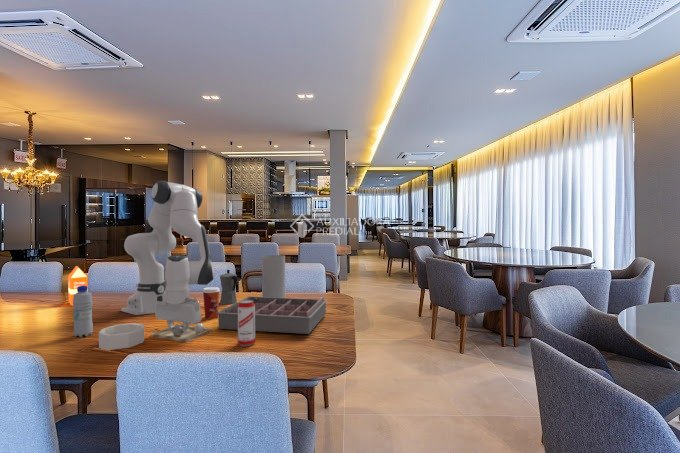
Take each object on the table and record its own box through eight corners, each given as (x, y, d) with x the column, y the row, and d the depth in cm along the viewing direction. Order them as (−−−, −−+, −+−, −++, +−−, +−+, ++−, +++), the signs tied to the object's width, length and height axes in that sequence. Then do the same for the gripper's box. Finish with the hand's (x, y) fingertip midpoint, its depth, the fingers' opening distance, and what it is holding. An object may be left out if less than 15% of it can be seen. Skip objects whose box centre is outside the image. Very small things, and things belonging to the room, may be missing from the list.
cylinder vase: (274, 304, 201) (274, 258, 200) (257, 301, 207) (257, 256, 207) (289, 300, 211) (289, 255, 210) (273, 297, 218) (273, 254, 217)
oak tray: (150, 337, 146) (150, 333, 146) (178, 327, 159) (178, 324, 159) (186, 343, 140) (186, 339, 140) (212, 332, 153) (212, 328, 153)
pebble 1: (115, 345, 139) (107, 339, 136) (121, 335, 142) (113, 329, 139) (122, 345, 137) (114, 339, 135) (128, 335, 140) (120, 329, 137)
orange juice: (85, 300, 210) (84, 265, 209) (88, 303, 203) (87, 266, 203) (68, 302, 205) (67, 266, 204) (70, 305, 198) (69, 268, 198)
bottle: (78, 339, 144) (76, 287, 144) (69, 336, 148) (68, 286, 147) (96, 334, 150) (95, 284, 150) (88, 331, 154) (87, 283, 153)
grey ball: (170, 337, 145) (170, 327, 145) (178, 334, 149) (178, 324, 149) (178, 338, 144) (178, 328, 144) (186, 335, 148) (186, 325, 147)
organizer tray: (248, 312, 185) (248, 292, 185) (327, 316, 178) (327, 295, 178) (215, 332, 154) (215, 308, 153) (310, 338, 147) (310, 312, 146)
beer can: (239, 341, 142) (239, 299, 142) (256, 340, 143) (256, 299, 142) (236, 347, 136) (236, 303, 136) (254, 346, 137) (253, 303, 136)
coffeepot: (214, 301, 207) (214, 269, 206) (230, 299, 213) (230, 267, 213) (228, 306, 196) (227, 272, 195) (244, 303, 202) (244, 270, 202)
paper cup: (214, 321, 170) (214, 290, 169) (199, 320, 171) (199, 289, 171) (223, 316, 177) (223, 286, 177) (208, 315, 179) (208, 286, 178)
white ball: (191, 334, 149) (191, 324, 149) (199, 331, 153) (199, 321, 153) (199, 335, 148) (199, 325, 147) (207, 332, 151) (206, 322, 151)
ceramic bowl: (91, 347, 136) (90, 332, 136) (126, 335, 149) (125, 322, 149) (118, 352, 131) (118, 337, 130) (152, 340, 144) (151, 325, 143)
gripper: (204, 297, 145) (205, 333, 146) (164, 293, 153) (165, 327, 153) (192, 301, 139) (193, 338, 140) (151, 296, 147) (152, 331, 147)
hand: (178, 332), depth 146 cm, fingers open, 5 cm apart
